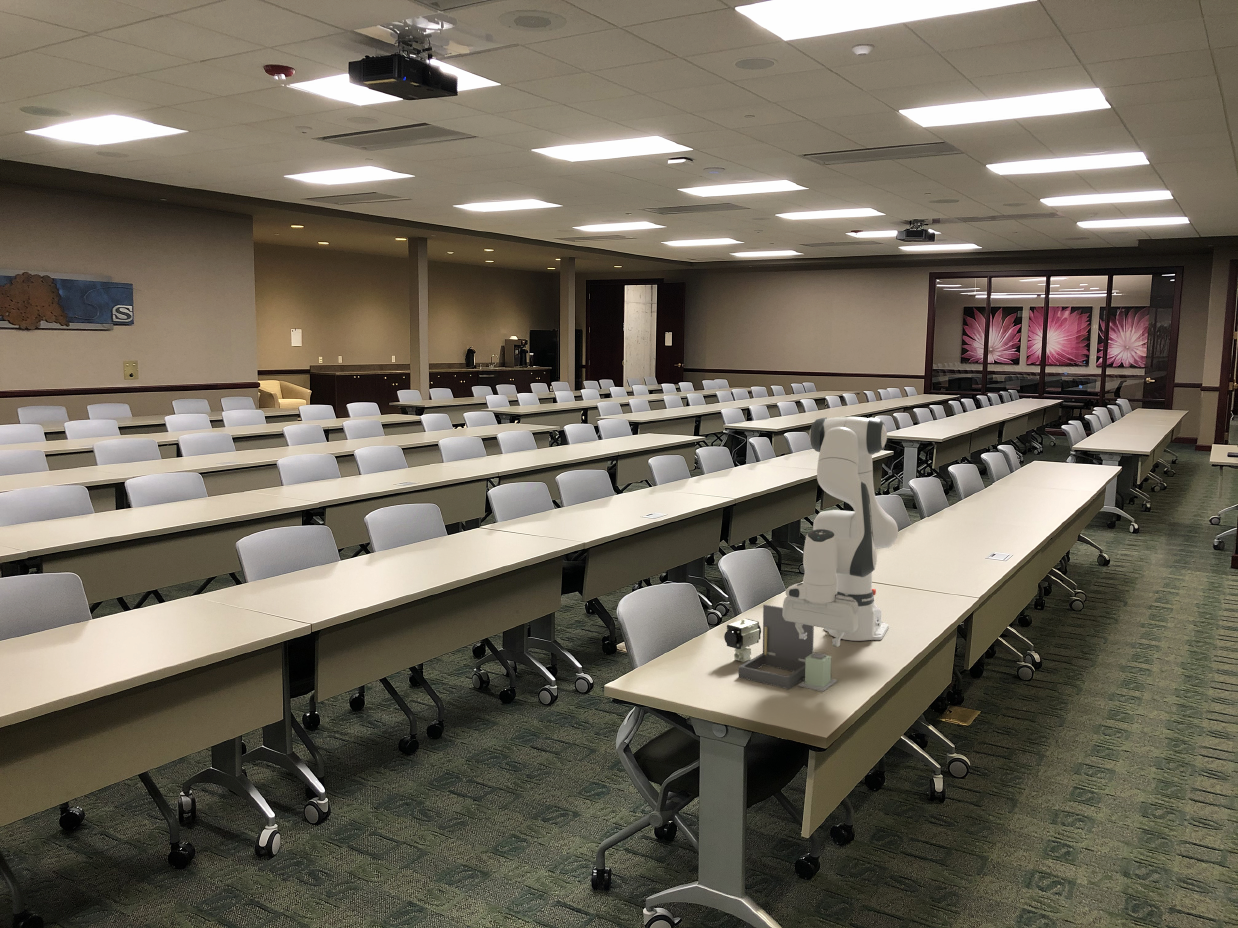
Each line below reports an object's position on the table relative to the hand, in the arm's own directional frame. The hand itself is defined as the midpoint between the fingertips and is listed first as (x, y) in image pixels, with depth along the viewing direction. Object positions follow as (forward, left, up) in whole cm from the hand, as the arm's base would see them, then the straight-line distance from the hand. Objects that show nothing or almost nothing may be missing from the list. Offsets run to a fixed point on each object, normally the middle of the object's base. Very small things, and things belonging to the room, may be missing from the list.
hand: (819, 642), depth 238 cm
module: (+1, 0, -11) cm, 11 cm away
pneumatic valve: (-4, -25, -12) cm, 28 cm away
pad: (+1, 0, -11) cm, 11 cm away
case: (+2, -12, -11) cm, 17 cm away
